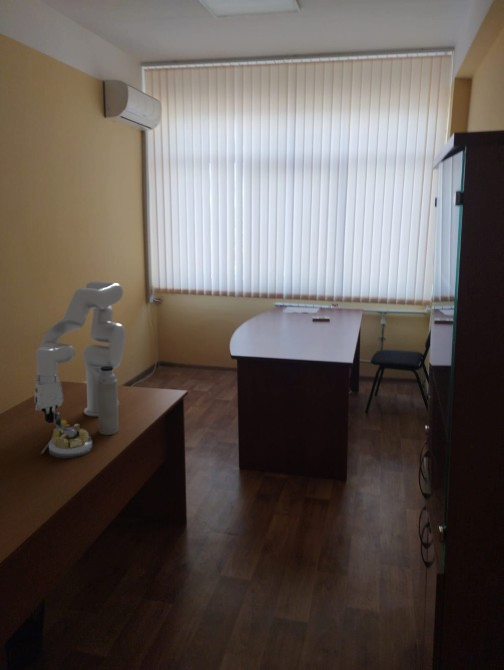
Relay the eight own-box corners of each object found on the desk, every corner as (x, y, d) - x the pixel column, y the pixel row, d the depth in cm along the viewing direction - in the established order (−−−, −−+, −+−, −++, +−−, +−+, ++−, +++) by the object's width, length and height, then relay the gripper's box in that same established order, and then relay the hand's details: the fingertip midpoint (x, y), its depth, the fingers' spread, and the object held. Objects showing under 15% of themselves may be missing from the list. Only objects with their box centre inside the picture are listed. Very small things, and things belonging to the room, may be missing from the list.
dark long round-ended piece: (92, 442, 207) (92, 427, 205) (59, 450, 199) (58, 434, 198) (72, 423, 224) (71, 409, 223) (41, 430, 217) (40, 415, 215)
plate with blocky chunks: (81, 435, 221) (80, 416, 219) (98, 451, 207) (98, 431, 205) (41, 444, 211) (40, 425, 210) (57, 461, 198) (56, 441, 196)
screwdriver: (59, 419, 229) (35, 450, 200) (68, 419, 229) (45, 450, 200) (60, 426, 230) (36, 459, 200) (68, 426, 230) (45, 459, 201)
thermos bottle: (106, 426, 231) (104, 363, 225) (122, 428, 229) (120, 365, 222) (95, 432, 224) (92, 368, 217) (111, 436, 221) (109, 370, 215)
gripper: (33, 384, 204) (36, 429, 208) (69, 376, 215) (71, 419, 219) (24, 379, 209) (27, 424, 213) (60, 372, 220) (62, 414, 224)
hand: (49, 421), depth 216 cm, fingers closed
